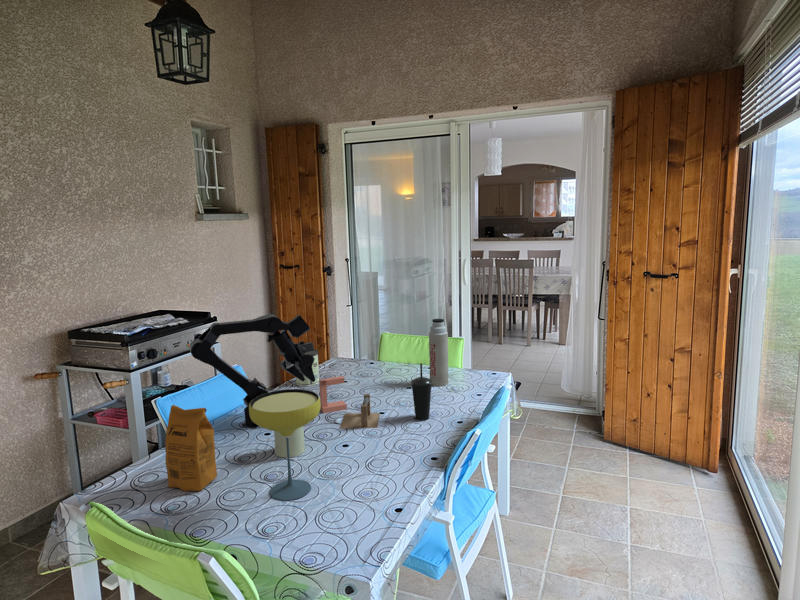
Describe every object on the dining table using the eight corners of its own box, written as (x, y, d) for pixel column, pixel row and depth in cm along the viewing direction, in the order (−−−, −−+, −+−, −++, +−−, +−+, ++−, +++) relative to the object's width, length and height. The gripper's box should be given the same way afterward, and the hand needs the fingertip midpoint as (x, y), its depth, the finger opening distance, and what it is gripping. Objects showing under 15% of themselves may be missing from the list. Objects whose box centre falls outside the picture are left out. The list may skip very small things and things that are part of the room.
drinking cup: (431, 422, 185) (430, 366, 182) (409, 421, 186) (408, 366, 183) (434, 414, 192) (433, 360, 189) (413, 413, 194) (412, 360, 190)
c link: (323, 413, 195) (321, 382, 193) (319, 409, 199) (318, 378, 198) (346, 409, 198) (345, 378, 197) (342, 405, 203) (341, 375, 201)
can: (275, 459, 159) (273, 421, 158) (274, 447, 168) (271, 411, 166) (306, 455, 162) (304, 417, 160) (303, 443, 171) (301, 407, 169)
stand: (339, 430, 180) (338, 407, 179) (344, 414, 194) (343, 393, 193) (377, 429, 180) (376, 406, 179) (380, 414, 194) (379, 393, 193)
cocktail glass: (242, 491, 141) (235, 401, 137) (300, 467, 154) (294, 384, 150) (279, 517, 128) (272, 418, 125) (338, 489, 141) (334, 398, 137)
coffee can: (299, 379, 239) (298, 349, 237) (322, 379, 238) (320, 348, 236) (293, 386, 229) (291, 354, 227) (316, 386, 228) (314, 354, 226)
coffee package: (187, 471, 153) (180, 398, 150) (223, 477, 149) (216, 402, 146) (161, 488, 144) (153, 410, 141) (198, 495, 140) (191, 415, 137)
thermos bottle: (435, 387, 223) (434, 321, 218) (426, 382, 230) (425, 318, 225) (451, 384, 226) (450, 319, 222) (442, 379, 233) (441, 316, 229)
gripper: (314, 331, 186) (336, 368, 189) (293, 334, 201) (315, 367, 205) (289, 350, 180) (313, 387, 184) (269, 351, 196) (292, 385, 199)
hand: (309, 381), depth 193 cm, fingers open, 9 cm apart
